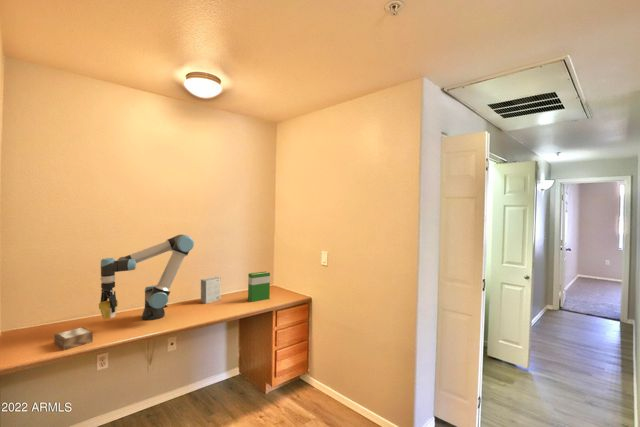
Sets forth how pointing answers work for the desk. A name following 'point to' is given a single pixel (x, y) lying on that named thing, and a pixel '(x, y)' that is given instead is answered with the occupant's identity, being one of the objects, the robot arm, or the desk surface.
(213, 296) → the hard drive box
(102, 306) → the plant pot
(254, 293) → the hardback book
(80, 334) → the pedestal block
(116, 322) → the desk surface
